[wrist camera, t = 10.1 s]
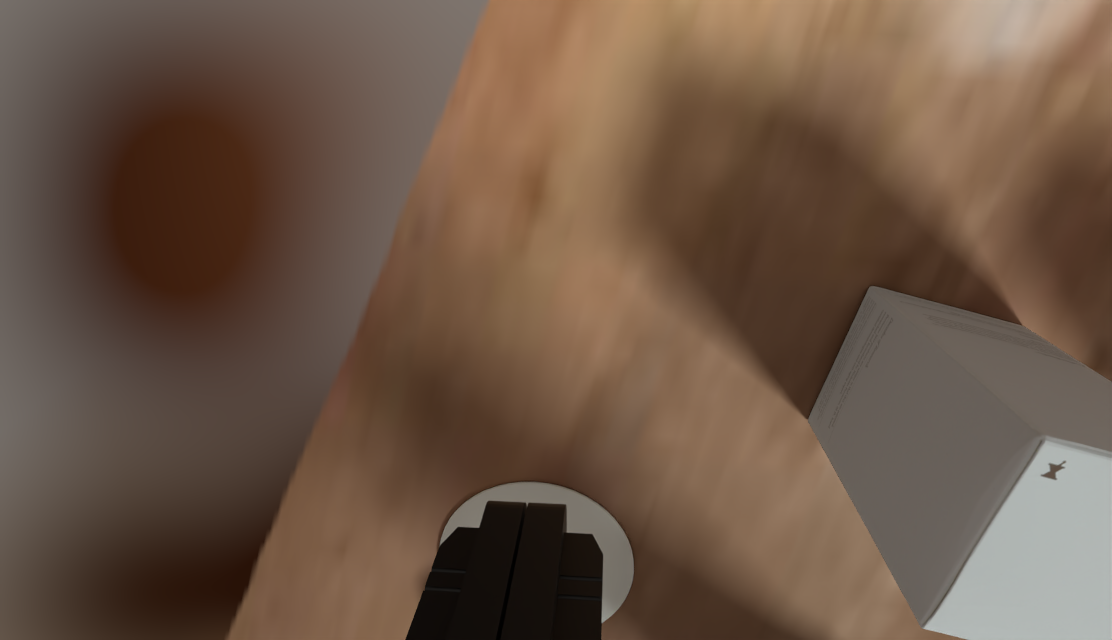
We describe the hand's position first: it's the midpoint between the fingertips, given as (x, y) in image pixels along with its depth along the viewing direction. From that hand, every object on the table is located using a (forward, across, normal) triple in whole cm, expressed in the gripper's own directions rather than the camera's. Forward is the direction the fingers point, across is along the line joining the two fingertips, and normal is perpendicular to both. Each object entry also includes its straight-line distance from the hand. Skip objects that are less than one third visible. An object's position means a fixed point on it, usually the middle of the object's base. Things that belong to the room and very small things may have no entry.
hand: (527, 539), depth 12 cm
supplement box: (+24, -18, +8) cm, 31 cm away
